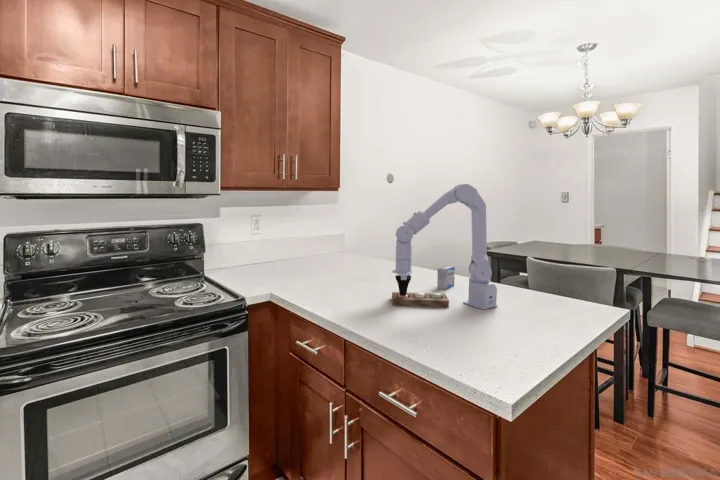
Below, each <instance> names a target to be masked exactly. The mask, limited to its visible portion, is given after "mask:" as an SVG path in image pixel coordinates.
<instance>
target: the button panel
mask: <svg viewBox="0 0 720 480" xmlns="http://www.w3.org/2000/svg"><path fill="white" fill-rule="evenodd" d="M414 293H415V292H407V293H406V294H407V295H408V298H406V297H398V294H400V293H399V291H398V292H396V291H392V292H391V307H411V308H412V307H413V308H414V307H417V308H418V307H419V308H446V309H447V308H448V309H449V308H450V300H449V297H448V296H447V295H446V293H440V292H439V293H440V294H441V298H431V293H432V292H423V293H424V298H414Z"/></svg>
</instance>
